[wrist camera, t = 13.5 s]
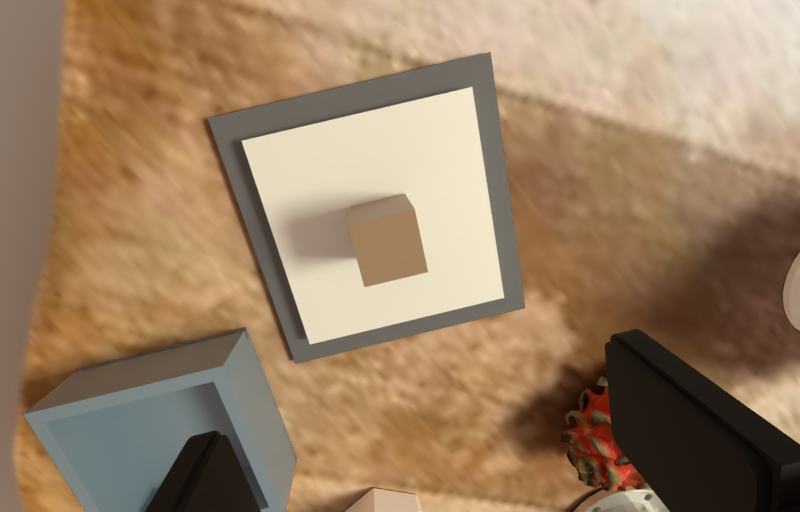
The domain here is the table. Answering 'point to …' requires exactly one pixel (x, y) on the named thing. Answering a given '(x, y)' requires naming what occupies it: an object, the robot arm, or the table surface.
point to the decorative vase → (793, 294)
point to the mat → (350, 102)
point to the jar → (386, 502)
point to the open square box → (164, 422)
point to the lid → (381, 214)
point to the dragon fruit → (599, 446)
